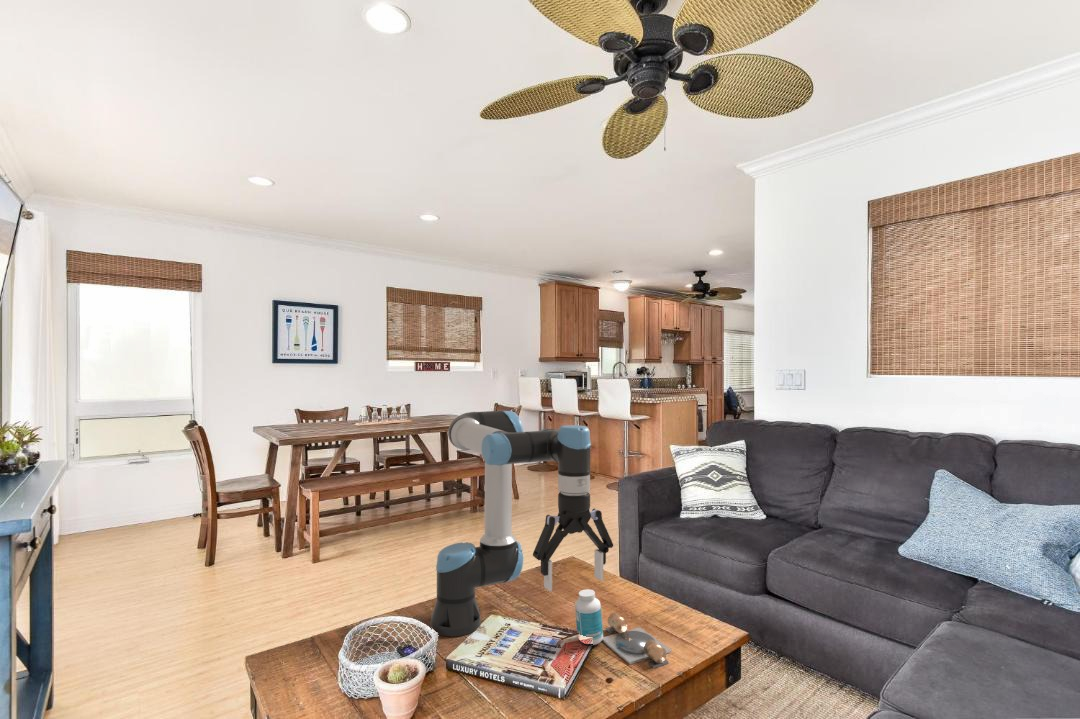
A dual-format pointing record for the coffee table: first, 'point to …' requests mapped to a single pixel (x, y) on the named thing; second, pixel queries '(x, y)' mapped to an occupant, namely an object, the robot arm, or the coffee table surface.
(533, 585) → the coffee table surface
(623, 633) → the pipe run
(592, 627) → the pill bottle
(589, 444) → the robot arm
